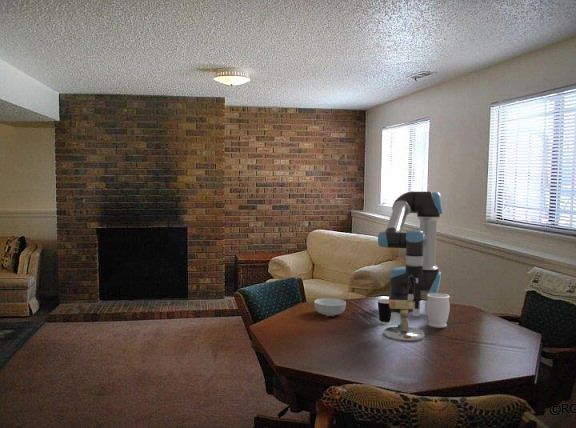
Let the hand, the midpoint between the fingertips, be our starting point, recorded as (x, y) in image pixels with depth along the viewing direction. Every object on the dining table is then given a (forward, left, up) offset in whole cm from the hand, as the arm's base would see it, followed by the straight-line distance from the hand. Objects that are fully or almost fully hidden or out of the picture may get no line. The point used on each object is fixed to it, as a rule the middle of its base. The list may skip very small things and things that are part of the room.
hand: (413, 311), depth 219 cm
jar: (-17, +15, -11) cm, 25 cm away
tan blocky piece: (0, -4, -8) cm, 9 cm away
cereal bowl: (-33, -37, -11) cm, 51 cm away
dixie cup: (-20, -10, -11) cm, 25 cm away
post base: (0, -4, -11) cm, 12 cm away
